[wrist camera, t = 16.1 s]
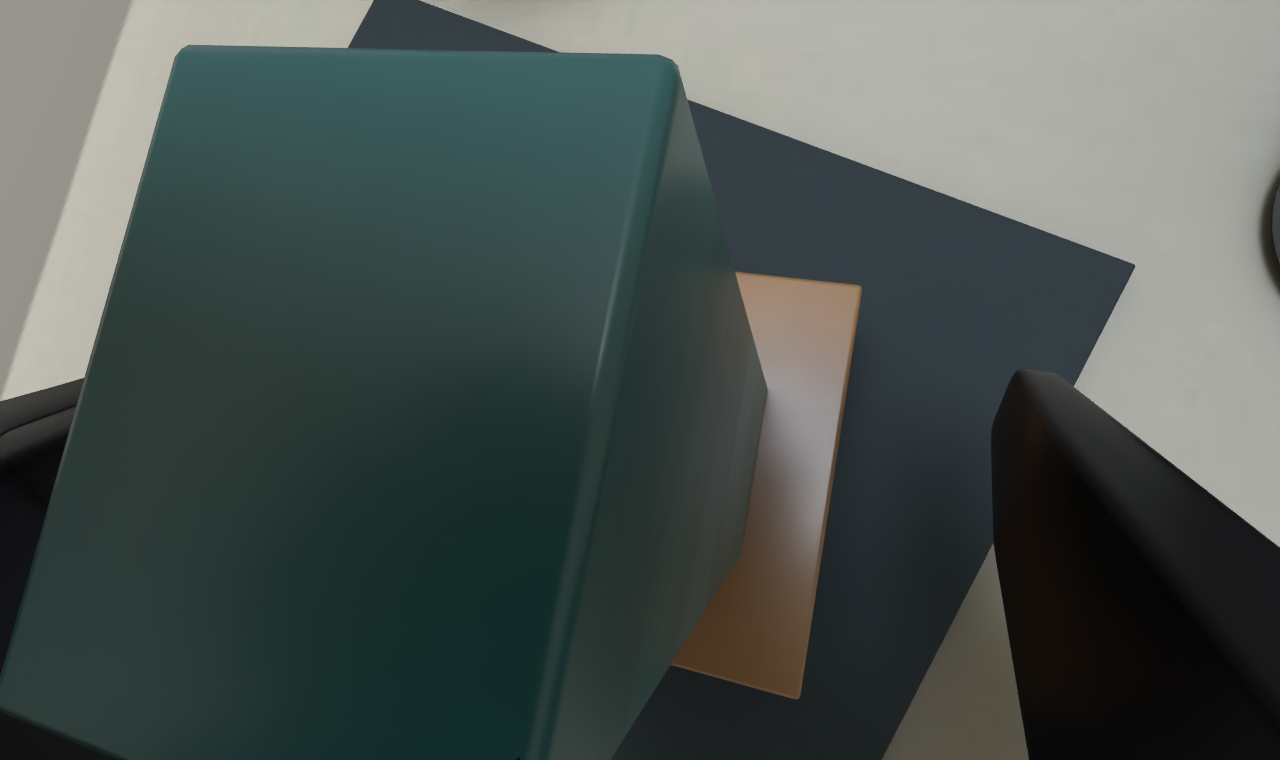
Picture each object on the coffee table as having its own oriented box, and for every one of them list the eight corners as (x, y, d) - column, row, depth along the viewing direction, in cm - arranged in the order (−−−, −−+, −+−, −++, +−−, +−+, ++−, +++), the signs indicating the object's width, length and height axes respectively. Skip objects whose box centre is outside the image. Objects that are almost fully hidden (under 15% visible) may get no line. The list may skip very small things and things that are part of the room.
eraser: (797, 639, 14) (850, 2120, 1) (587, 586, 15) (-368, 1111, 3) (844, 334, 15) (1160, -495, 2) (640, 308, 16) (84, -307, 3)
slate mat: (749, 1006, 13) (747, 1024, 13) (113, 497, 19) (98, 498, 19) (1127, 269, 14) (1139, 263, 13) (388, -5, 20) (379, -16, 19)
